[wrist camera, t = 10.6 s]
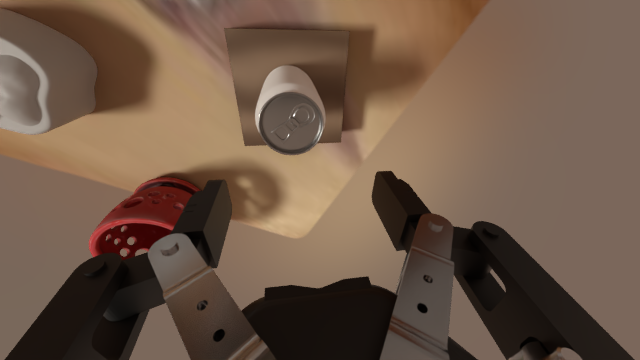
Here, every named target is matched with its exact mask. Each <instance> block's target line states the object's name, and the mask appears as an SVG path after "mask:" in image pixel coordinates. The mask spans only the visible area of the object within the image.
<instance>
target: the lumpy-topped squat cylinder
mask: <svg viewBox="0 0 640 360" xmlns="http://www.w3.org/2000/svg"><path fill="white" fill-rule="evenodd" d="M97 73H98V71H97V66H96V63H95V61H94V59H93V58H92V57H91V55H90V54H89V53H88V52H87V51H86V50H85V49H84V48H83V47H82V46H81V45H80V44H78V43H77V42H76V41H74V40H73V39H71V38H69V37H67V36H66V35H64V34H62V33H60V32H58V31H56V30H54V29H52V28H50V27H48V26H46V25H44V24H42V23H40V22H38V21H35V20H33V19H31V18H28V17H26V16H23V15H21V14H18V13H16V12H13V11H10V10H7V9H2V8H0V128H3V129H7V130H10V131H14V132H19V133H24V134H31V135H35V134H42V133H45V132H48V131H51V130H53V129H55V128H57V127H60V126H62V125H64V124H67V123H69V122H71V121H73V120H76V119H78V118H80V117H82V116H85V115H87V114H89V113H91V112H93V111H94V109H95V107H96V100H95V93H94V86H95V82H96V79H97Z"/></svg>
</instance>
